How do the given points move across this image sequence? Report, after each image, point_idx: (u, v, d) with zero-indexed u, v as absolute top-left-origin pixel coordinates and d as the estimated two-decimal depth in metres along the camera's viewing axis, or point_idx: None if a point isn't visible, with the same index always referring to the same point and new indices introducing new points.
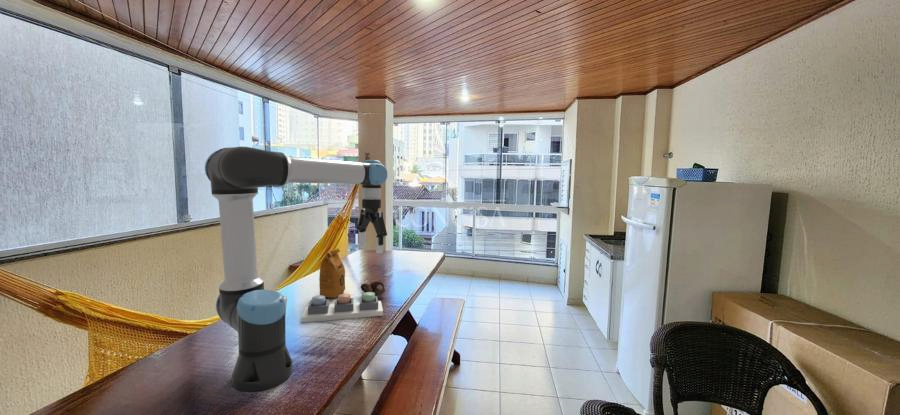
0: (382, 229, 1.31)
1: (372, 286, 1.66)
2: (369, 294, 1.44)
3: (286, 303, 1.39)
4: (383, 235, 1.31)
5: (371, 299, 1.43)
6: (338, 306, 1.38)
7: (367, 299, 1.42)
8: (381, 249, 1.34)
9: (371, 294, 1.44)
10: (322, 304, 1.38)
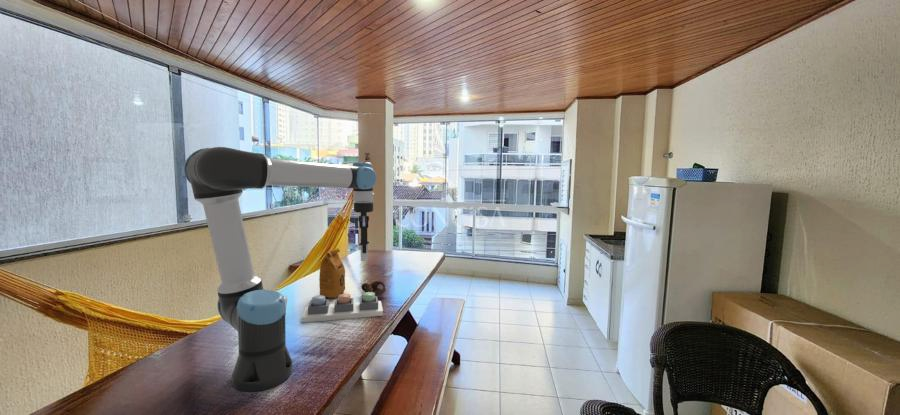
0: (363, 239, 1.31)
1: (373, 286, 1.67)
2: (369, 294, 1.44)
3: (286, 303, 1.39)
4: (363, 244, 1.32)
5: (371, 299, 1.43)
6: (338, 306, 1.38)
7: (367, 299, 1.42)
8: (366, 257, 1.35)
9: (371, 294, 1.44)
10: (322, 304, 1.38)
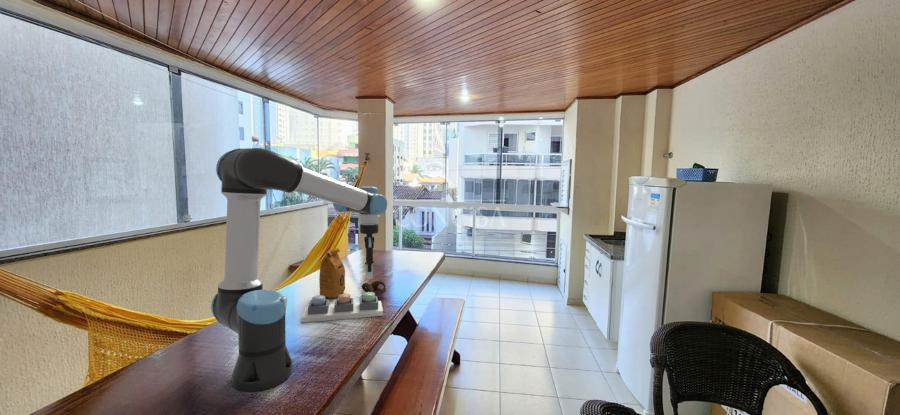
0: (369, 259, 1.39)
1: (373, 286, 1.67)
2: (369, 294, 1.44)
3: (286, 303, 1.39)
4: (368, 263, 1.40)
5: (371, 299, 1.43)
6: (338, 306, 1.38)
7: (367, 299, 1.42)
8: (371, 275, 1.43)
9: (371, 294, 1.44)
10: (322, 304, 1.38)
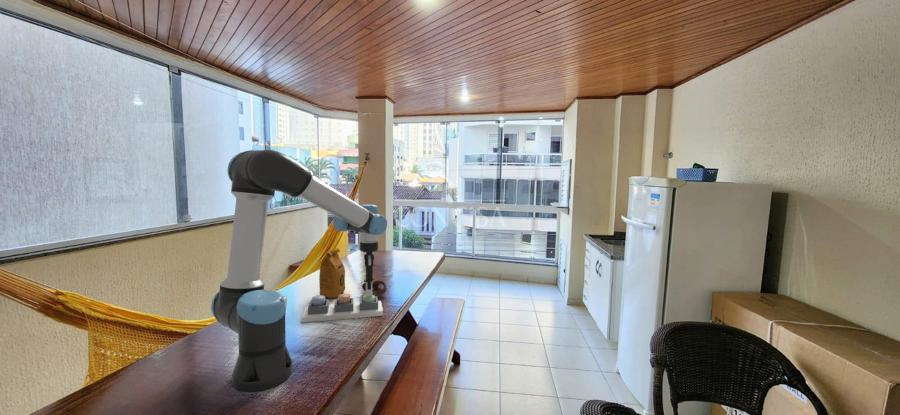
0: (368, 277, 1.40)
1: (373, 285, 1.67)
2: (369, 297, 1.44)
3: (286, 303, 1.39)
4: (368, 281, 1.41)
5: (371, 301, 1.43)
6: (338, 306, 1.38)
7: None
8: (370, 293, 1.44)
9: (371, 297, 1.44)
10: (322, 304, 1.38)
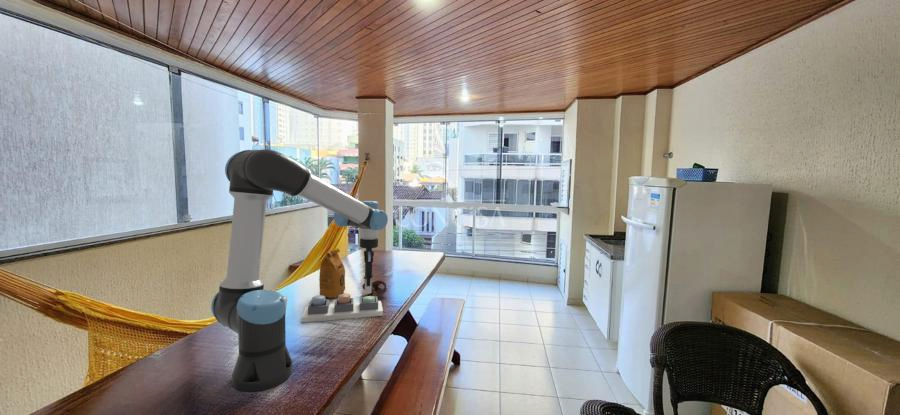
0: (368, 273, 1.39)
1: (374, 285, 1.67)
2: (369, 298, 1.44)
3: (286, 303, 1.39)
4: (367, 278, 1.40)
5: None
6: (338, 306, 1.38)
7: None
8: (369, 290, 1.43)
9: (371, 298, 1.44)
10: (322, 304, 1.38)
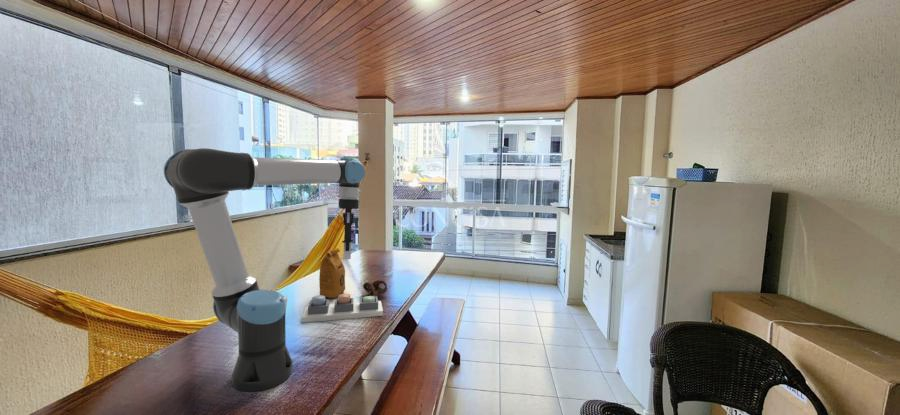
0: (346, 236, 1.28)
1: (374, 285, 1.68)
2: (369, 298, 1.44)
3: (286, 303, 1.39)
4: (346, 241, 1.29)
5: None
6: (338, 306, 1.38)
7: None
8: (348, 255, 1.32)
9: (371, 298, 1.44)
10: (322, 304, 1.38)
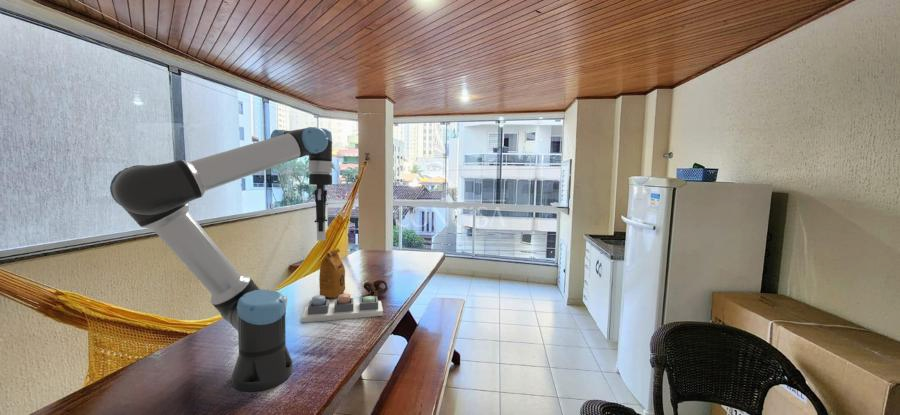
0: (318, 214, 1.16)
1: (375, 285, 1.68)
2: (369, 298, 1.44)
3: (286, 303, 1.39)
4: (319, 221, 1.17)
5: None
6: (338, 306, 1.38)
7: None
8: (322, 236, 1.20)
9: (371, 298, 1.44)
10: (322, 304, 1.38)
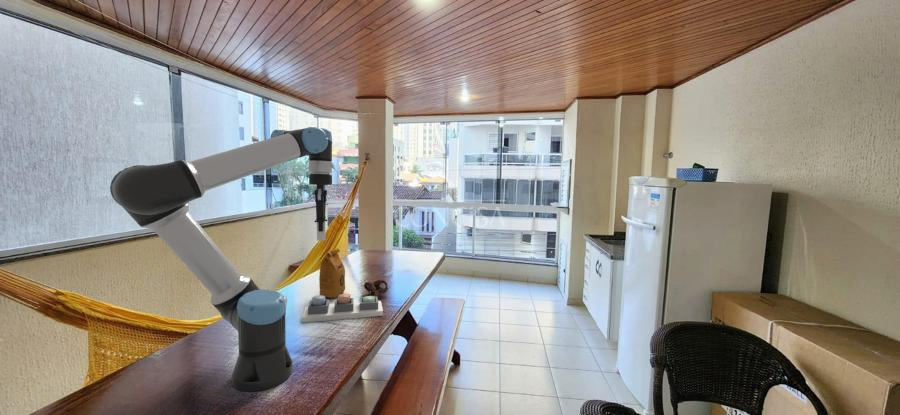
0: (318, 214, 1.16)
1: (375, 284, 1.69)
2: (369, 298, 1.44)
3: (286, 303, 1.39)
4: (319, 221, 1.17)
5: None
6: (338, 306, 1.38)
7: None
8: (322, 236, 1.20)
9: (371, 298, 1.44)
10: (322, 304, 1.38)
